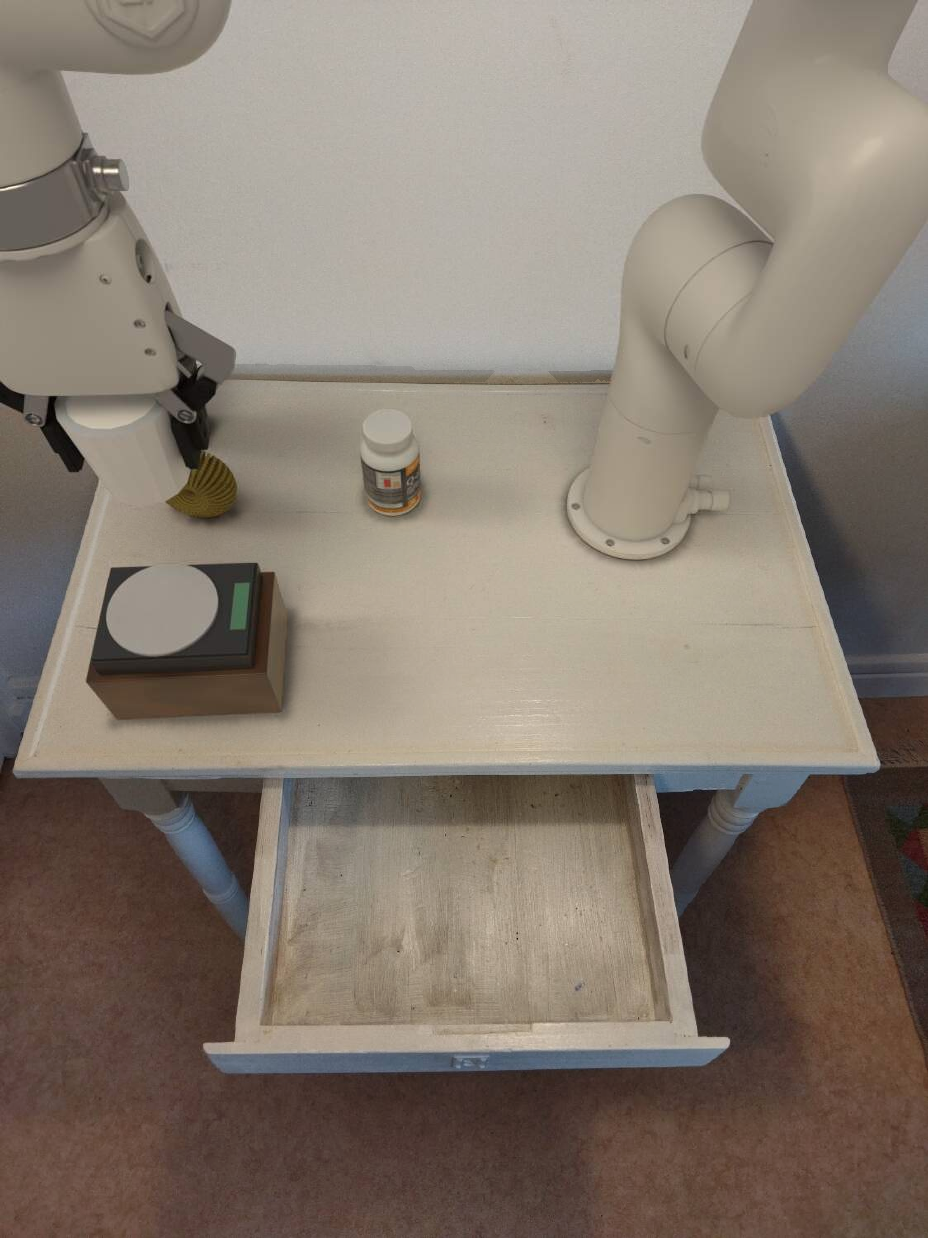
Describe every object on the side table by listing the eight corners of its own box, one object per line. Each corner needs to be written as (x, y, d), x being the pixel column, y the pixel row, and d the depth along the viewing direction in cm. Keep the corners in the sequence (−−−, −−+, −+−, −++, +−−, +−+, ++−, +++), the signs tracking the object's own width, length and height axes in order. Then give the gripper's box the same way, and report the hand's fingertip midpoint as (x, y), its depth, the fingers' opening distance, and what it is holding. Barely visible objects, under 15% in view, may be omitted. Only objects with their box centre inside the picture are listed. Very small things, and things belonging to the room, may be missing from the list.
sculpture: (249, 500, 80) (232, 443, 74) (238, 530, 78) (219, 475, 72) (173, 490, 81) (149, 433, 74) (160, 520, 79) (134, 464, 72)
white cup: (176, 522, 52) (141, 445, 46) (78, 504, 52) (31, 426, 46) (214, 447, 55) (187, 367, 49) (122, 431, 56) (85, 350, 50)
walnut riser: (288, 614, 73) (274, 571, 67) (281, 712, 68) (266, 674, 62) (134, 620, 72) (107, 577, 66) (116, 719, 67) (85, 681, 61)
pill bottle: (422, 517, 80) (420, 447, 71) (365, 519, 80) (357, 449, 71) (419, 475, 83) (417, 403, 74) (365, 477, 83) (356, 405, 74)
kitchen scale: (262, 576, 67) (256, 558, 65) (254, 669, 62) (247, 652, 60) (118, 581, 66) (107, 563, 64) (99, 675, 62) (86, 659, 59)
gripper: (211, 143, 39) (275, 412, 54) (-149, 144, 38) (17, 417, 53) (193, 231, 35) (267, 495, 50) (-210, 234, 34) (-12, 502, 49)
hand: (137, 453), depth 52 cm, fingers closed on white cup, 6 cm apart
